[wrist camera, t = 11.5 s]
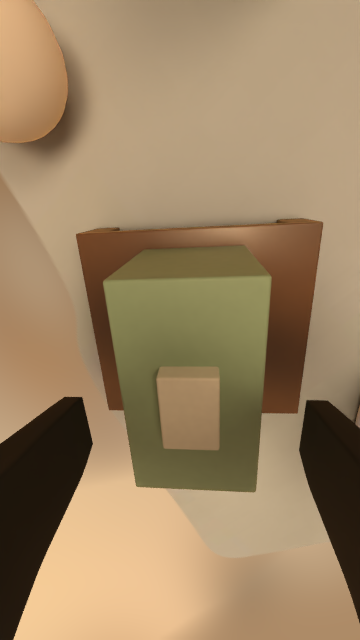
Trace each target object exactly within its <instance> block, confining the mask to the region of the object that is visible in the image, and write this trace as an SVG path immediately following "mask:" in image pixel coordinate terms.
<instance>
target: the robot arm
mask: <svg viewBox="0 0 360 640" xmlns="http://www.w3.org/2000/svg"><path fill="white" fill-rule="evenodd" d="M92 445H93V443H92V438H91V434H90V429H89V425H88V421H87V416H86V412H85V407H84V403H83V399H82V397H64V398H63V399H61V400H60V401H58V402H57V403H56V404H54V405H53V406H51V407H50V408H48V409H47V410H46V411H44V412H43V413H42V414H40V415H39V416H37V417H36V418H35V419H33V420H32V421H31V422H29V423H28V424H27V425H26V426H24V427H23V428H21V429H20V430H19V431H17V432H16V433H14V434H13V435H12V436H10V437H9V438H8V439H6V440H5V441H4V442H2V443H1V444H0V640H13V639H14V636H15V633H16V630H17V627H18V625H19V622H20V619H21V616H22V613H23V611H24V608H25V605H26V603H27V600H28V597H29V595H30V592H31V589H32V587H33V584H34V581H35V578H36V576H37V574H38V571H39V568H40V566H41V564H42V562H43V559H44V557H45V555H46V552H47V550H48V548H49V546H50V544H51V541H52V539H53V537H54V535H55V533H56V531H57V529H58V527H59V525H60V522H61V520H62V518H63V516H64V514H65V512H66V510H67V508H68V505H69V503H70V501H71V499H72V497H73V494H74V492H75V490H76V488H77V486H78V484H79V481H80V479H81V477H82V475H83V472H84V469H85V466H86V463H87V460H88V457H89V454H90V451H91V448H92ZM299 451H300V455H301V459H302V463H303V467H304V470H305V474H306V478H307V481H308V485H309V487H310V490H311V492H312V495H313V498H314V500H315V503H316V505H317V508H318V511H319V513H320V516H321V518H322V521H323V523H324V526H325V528H326V531H327V533H328V536H329V539H330V541H331V544H332V546H333V549H334V551H335V554H336V556H337V559H338V561H339V564H340V566H341V569H342V571H343V574H344V577H345V579H346V582H347V585H348V588H349V591H350V594H351V596H352V599H353V603H354V606H355V609H356V612H357V615H358V619H359V622H360V406H359V410H358V414H357V418H356V423H355V424H354V423H353V422H352V421H351V420H350V419H349V418H347V417H346V416H345V415H344V414H343V413H342V412H340V411H339V410H338V409H337V408H336V407H335V406H333V405H332V404H331V403H330V402H329V401H321V400H307V401H306V408H305V414H304V421H303V428H302V435H301V441H300V448H299Z"/></svg>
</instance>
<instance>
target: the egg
mask: <svg viewBox="0 0 360 640" xmlns="http://www.w3.org/2000/svg"><path fill="white" fill-rule="evenodd" d="M67 96H68V77H67V72H66V67H65V62H64V58H63V54H62V51H61V49H60V47H59V45H58V42H57V40H56V38H55V36H54V33H53V31H52V29H51V27H50V25H49V23H48V21H47V20H46V18H45V16H44V15H43V13H42V12H41V11H40V9H39V8H38V6H37V5H36V4H35V2H34V1H33V0H0V142H8V143H25V142H30V141H35V140H37V139H39V138H42V137H44V136H45V135H46V134H48V133H49V132H50V131H51V130H53V129H54V128H55V126H56V125H57V124H58V122H59V121H60V119H61V117H62V115H63V112H64V110H65V105H66V101H67Z"/></svg>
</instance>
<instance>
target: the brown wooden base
mask: <svg viewBox="0 0 360 640" xmlns="http://www.w3.org/2000/svg"><path fill="white" fill-rule="evenodd" d="M322 228H323V222H320V221H314V220H309V219H303V218H300V219H280V220H277V223H271V224H251V225H230V226H210V227H189V228H169V229H148V230H128V231H120V229H119V228H101V229H94V230H90V231H86V232H82V233H78V234H76V238H77V243H78V248H79V254H80V259H81V264H82V270H83V275H84V280H85V285H86V291H87V296H88V301H89V307H90V312H91V317H92V323H93V328H94V333H95V338H96V344H97V349H98V354H99V360H100V365H101V370H102V375H103V381H104V386H105V391H106V397H107V402H108V407H109V410H124V408H123V402H122V396H121V390H120V384H119V378H118V372H117V366H116V360H115V354H114V347H113V341H112V335H111V329H110V323H109V317H108V311H107V305H106V299H105V292H104V286H103V281H104V280H105V279H106V278H108V277H109V276H110V275H112V274H113V273H114V272H116V271H117V270H118V269H119V268H121V267H122V266H123V265H125V264H126V263H127V262H129V261H130V260H131V259H132V258H134V257H135V256H136V255H138V254H139V253H140V252H142V251H143V250H146V249H170V248H194V247H218V246H242V245H244V246H246V247H247V249H248V250H249V251H250V252H251V253H252V254H253V256H254V257H255V258H256V259H257V260H258V261H259V262H260V264H261V265H262V266H263V267H264V268H265V269H266V271H267V272H268V273H269V274H270V275H271V277H272V280H271V294H270V307H269V321H268V334H267V348H266V362H265V375H264V389H263V402H262V413H298V405H299V398H300V391H301V383H302V376H303V368H304V361H305V354H306V346H307V339H308V332H309V324H310V317H311V309H312V302H313V295H314V287H315V280H316V272H317V265H318V258H319V250H320V243H321V236H322Z"/></svg>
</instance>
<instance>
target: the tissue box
mask: <svg viewBox="0 0 360 640" xmlns="http://www.w3.org/2000/svg"><path fill="white" fill-rule="evenodd" d="M271 280H272V277H271V275H270V274H269V273H268V272H267V271H266V269H265V268H264V267H263V266H262V265H261V264H260V262H259V261H258V260H257V259H256V258H255V257H254V256H253V254H252V253H251V252H250V251H249V250H248V249H247V247H246V246H244V245H242V246H218V247H194V248H170V249H146V250H143V251H142V252H140V253H139V254H138V255H136V256H135V257H134V258H132V259H131V260H130V261H129V262H127V263H126V264H125V265H123V266H122V267H121V268H119V269H118V270H117V271H116V272H114V273H113V274H112V275H110V276H109V277H108V278H106V279H105V280H104V281H103V286H104V292H105V299H106V305H107V311H108V317H109V323H110V329H111V335H112V341H113V347H114V354H115V360H116V366H117V372H118V378H119V384H120V390H121V396H122V402H123V408H124V415H125V421H126V427H127V433H128V439H129V445H130V451H131V457H132V463H133V469H134V475H135V482H136V486H137V487H150V488H171V489H193V490H214V491H236V492H255V491H256V484H257V470H258V457H259V443H260V429H261V416H262V402H263V389H264V375H265V362H266V348H267V334H268V321H269V307H270V294H271Z"/></svg>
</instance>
